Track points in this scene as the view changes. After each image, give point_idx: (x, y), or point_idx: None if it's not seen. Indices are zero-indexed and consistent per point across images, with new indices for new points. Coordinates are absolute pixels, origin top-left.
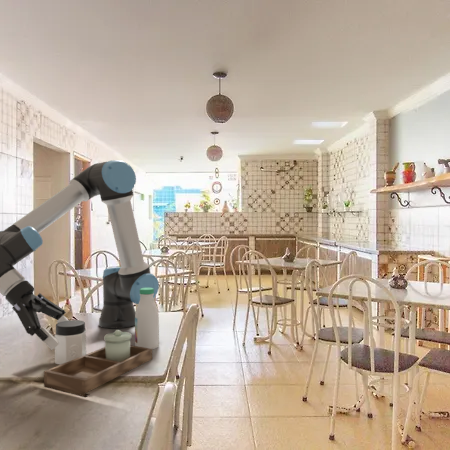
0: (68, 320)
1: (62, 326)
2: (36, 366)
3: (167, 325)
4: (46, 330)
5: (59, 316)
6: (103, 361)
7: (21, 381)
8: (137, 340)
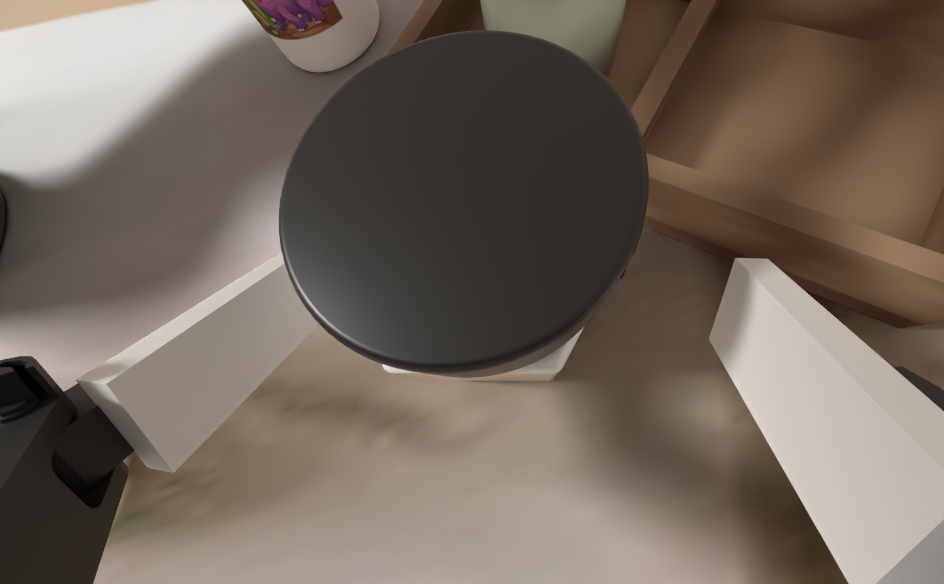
0: (192, 313)
1: (625, 217)
2: (545, 503)
3: (44, 51)
4: (907, 402)
5: (84, 446)
6: (699, 33)
7: None
8: (336, 3)
